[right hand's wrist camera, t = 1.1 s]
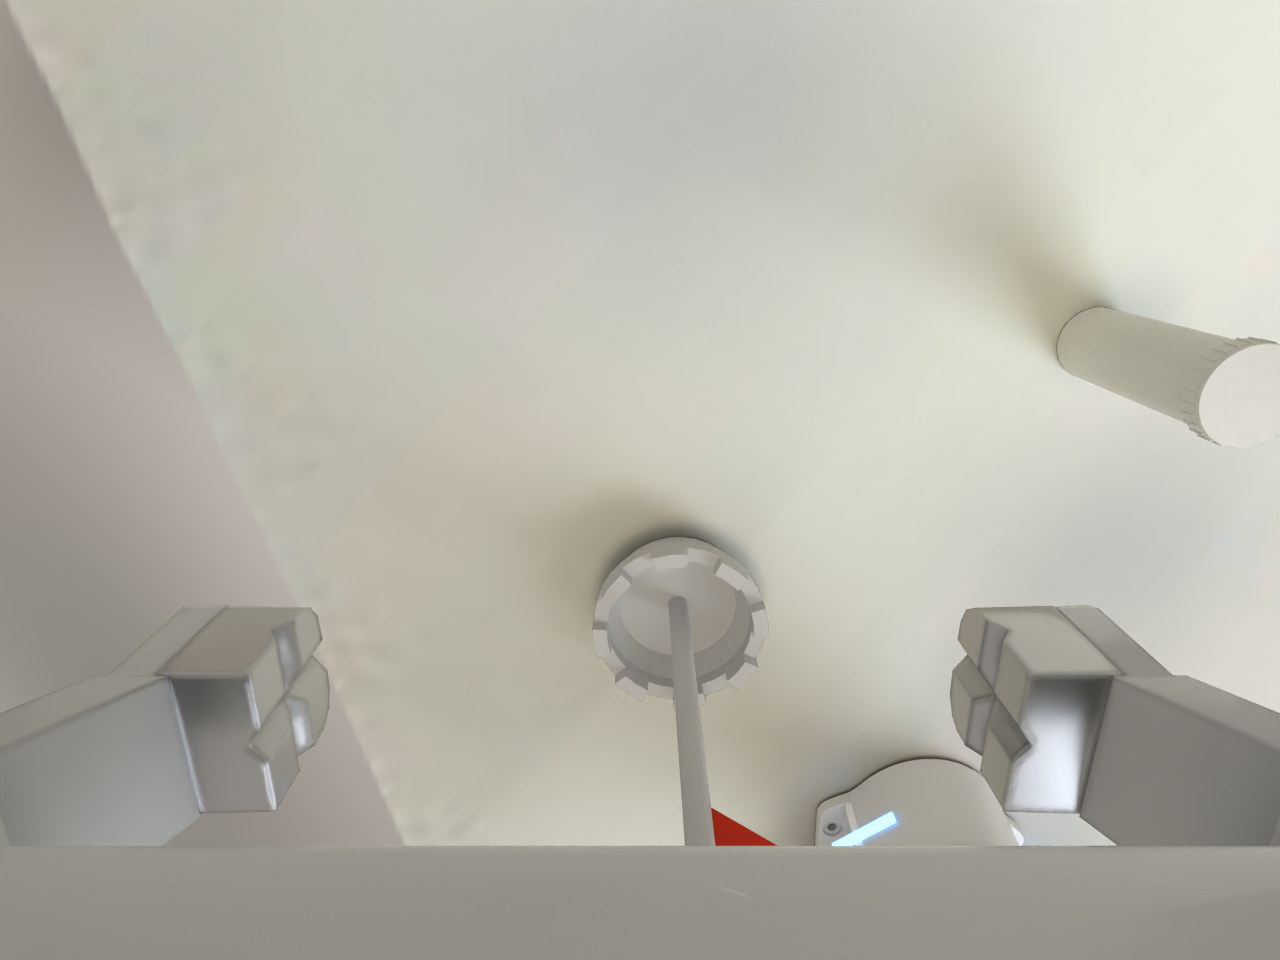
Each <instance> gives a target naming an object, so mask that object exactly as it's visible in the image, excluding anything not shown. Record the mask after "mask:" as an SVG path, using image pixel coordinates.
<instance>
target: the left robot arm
mask: <svg viewBox="0 0 1280 960" xmlns="http://www.w3.org/2000/svg"><path fill="white" fill-rule="evenodd" d="M831 823H834V824H832V825H829V824H831ZM1023 844H1024V837H1023V834H1022V832H1021V830H1020V828H1019V826H1018V825H1017V824H1016V823H1015V822H1014V821H1013V820H1012V819H1011V818H1010V817H1008V816H1007V815H1006V814H1005V813H1004V812H1003V810H1002V808H1001V805H1000V803H999V802H998V800H997V798H996V797H995V795H994V793H993V792H992V790H991V788H990V787H989V785H988V783H987V782H986V780H985V778H984V777H983V776H981V775H980V774H979V773H977V772H976V771H975V770H973V769H971V768H969V767H967V766H965V765H962V764H959V763H956V762H952V761H948V760H941V759H918V760H911V761H906V762H902V763H899V764H895V765H893V766H890V767H888V768H885V769H883V770H881V771H879V772H877V773H876V774H874V775H872V776H871V777H869V778H868V779H867V780H865V781H864V782H863V783H862V784H860V785H859V786H858V787H856V788H855V789H853V790H852V791H850V792H848V793H845V794H842V795H839V796H836V797H833V798H831V799H828V800H826V801H824V802H823V803H821V804H820V805H819V807H818V809H817V816H816V833H815V846H1023Z"/></svg>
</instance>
